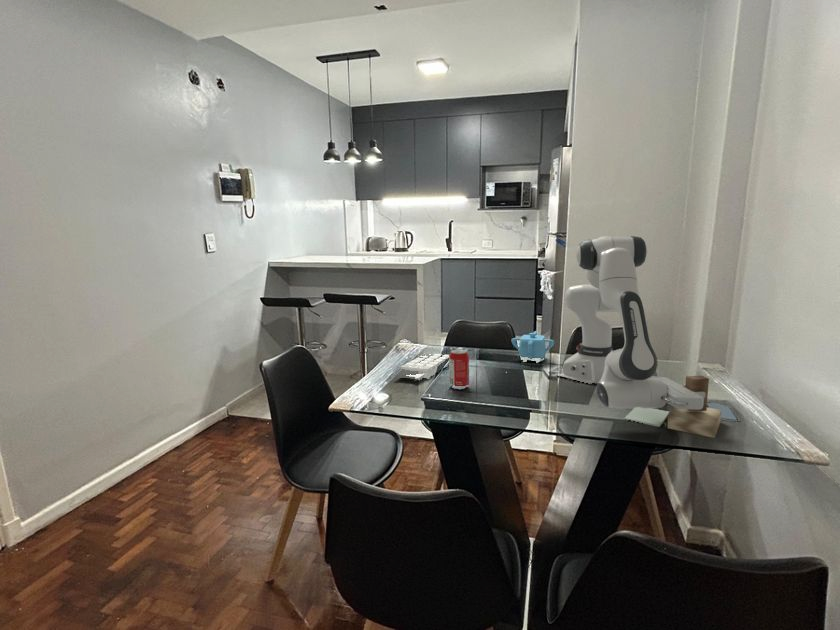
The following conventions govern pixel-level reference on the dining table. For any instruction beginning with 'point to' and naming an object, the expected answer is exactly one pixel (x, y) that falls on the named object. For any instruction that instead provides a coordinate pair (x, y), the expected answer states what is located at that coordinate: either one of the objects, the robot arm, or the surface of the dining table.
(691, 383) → the brown wooden upright block
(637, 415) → the rubber mat
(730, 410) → the smartphone
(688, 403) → the robot arm
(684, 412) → the birch block
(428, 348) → the dining table surface
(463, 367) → the soda can
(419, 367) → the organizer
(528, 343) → the teapot
